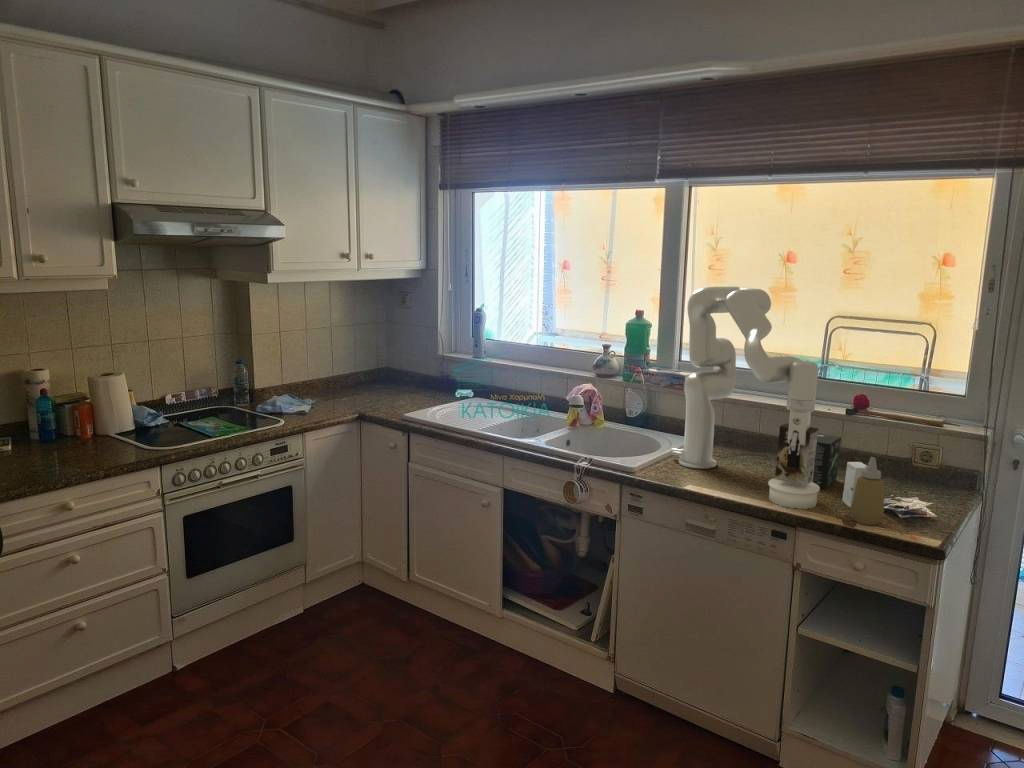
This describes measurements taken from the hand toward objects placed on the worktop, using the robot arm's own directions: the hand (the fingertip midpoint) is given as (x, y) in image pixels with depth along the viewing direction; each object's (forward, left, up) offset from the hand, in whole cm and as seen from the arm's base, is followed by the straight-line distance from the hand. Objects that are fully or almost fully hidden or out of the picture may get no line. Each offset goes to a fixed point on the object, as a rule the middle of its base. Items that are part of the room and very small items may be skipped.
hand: (795, 463), depth 216 cm
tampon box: (+4, +23, -12) cm, 26 cm away
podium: (0, 0, -11) cm, 11 cm away
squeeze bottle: (+20, -7, -12) cm, 24 cm away
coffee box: (0, 0, -5) cm, 5 cm away
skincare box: (+16, +6, -12) cm, 21 cm away
